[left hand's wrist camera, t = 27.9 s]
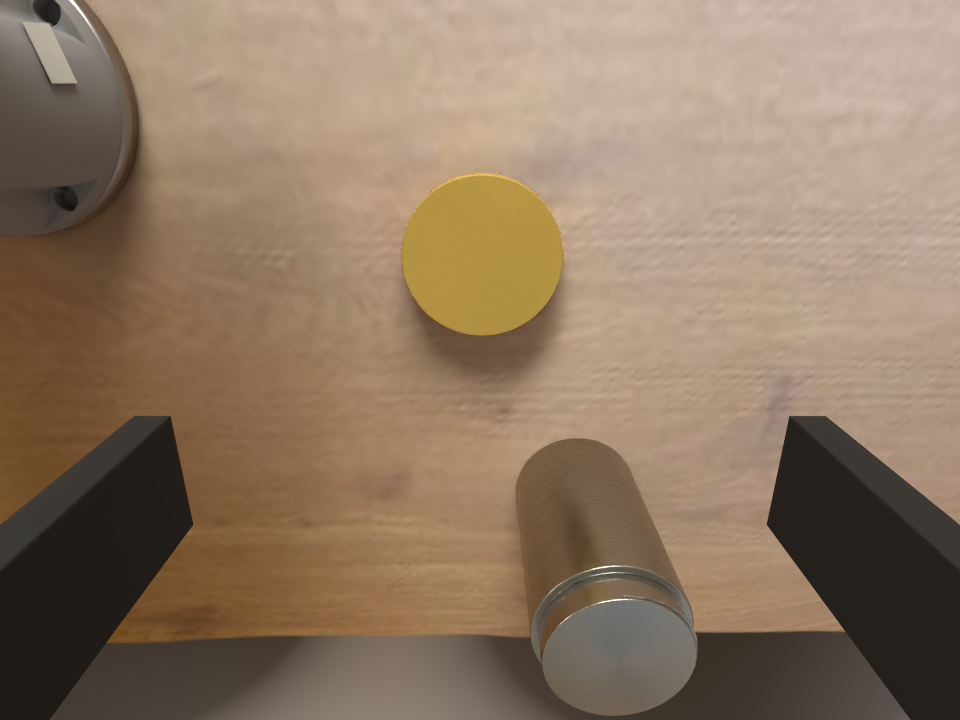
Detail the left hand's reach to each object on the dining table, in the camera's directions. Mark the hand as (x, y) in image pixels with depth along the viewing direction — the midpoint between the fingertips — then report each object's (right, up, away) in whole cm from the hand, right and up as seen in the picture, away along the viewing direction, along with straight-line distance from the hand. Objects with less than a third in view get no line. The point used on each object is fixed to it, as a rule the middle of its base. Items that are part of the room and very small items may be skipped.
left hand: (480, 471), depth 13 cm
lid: (0, +9, +23) cm, 24 cm away
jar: (+7, -7, +31) cm, 32 cm away
